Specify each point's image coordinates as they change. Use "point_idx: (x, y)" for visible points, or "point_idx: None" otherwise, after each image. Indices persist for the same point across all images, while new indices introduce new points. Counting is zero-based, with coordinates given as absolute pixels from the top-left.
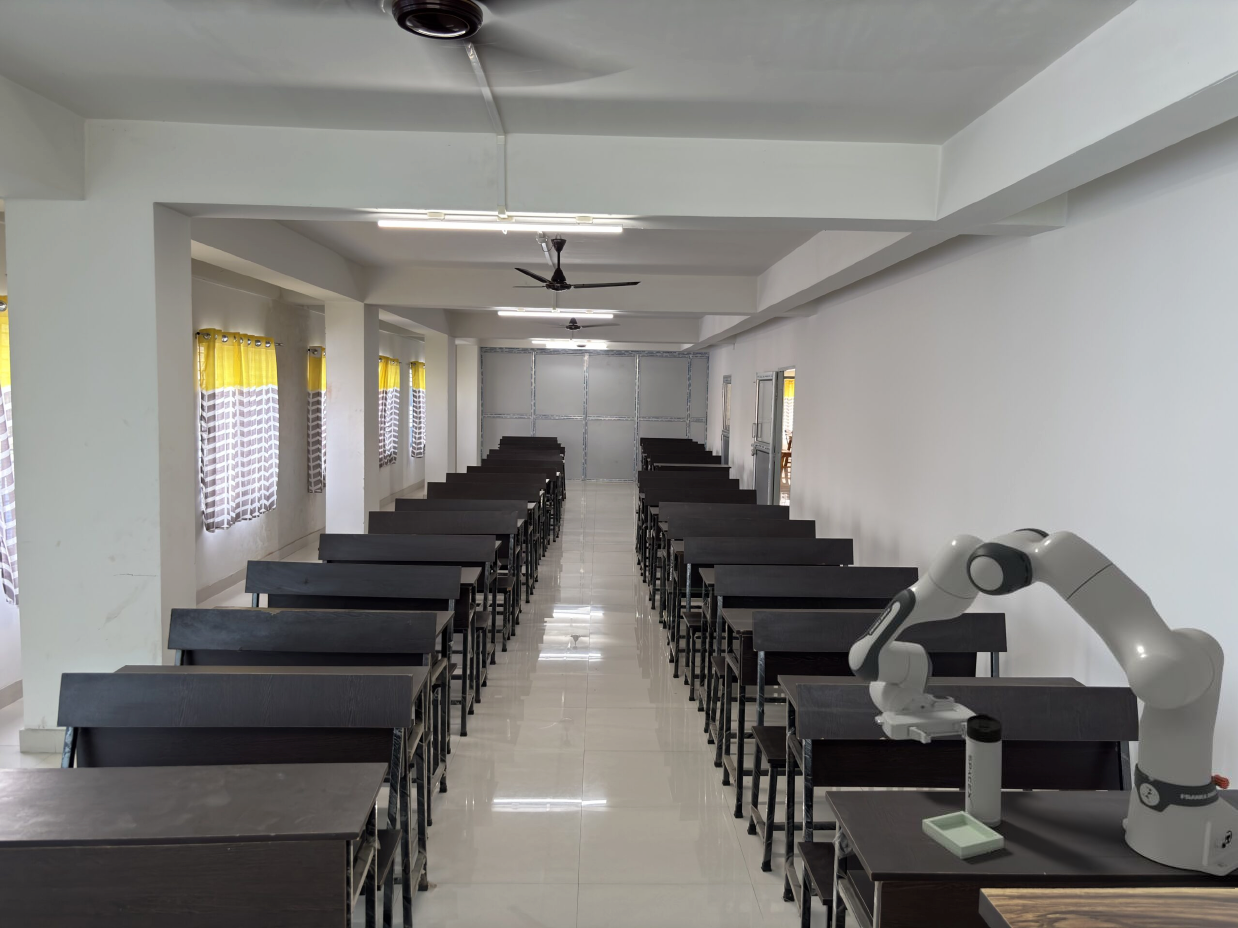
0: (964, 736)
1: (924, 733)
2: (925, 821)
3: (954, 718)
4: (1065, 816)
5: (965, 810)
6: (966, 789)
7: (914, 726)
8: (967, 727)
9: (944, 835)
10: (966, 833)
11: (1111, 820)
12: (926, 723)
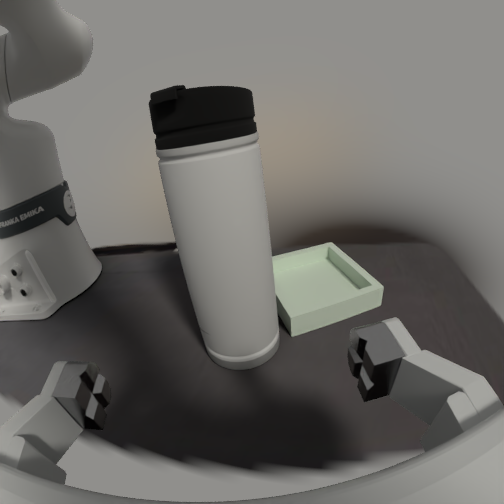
0: (101, 404)
1: (391, 339)
2: (378, 284)
3: (16, 481)
4: (86, 344)
5: (276, 339)
6: (274, 286)
7: (464, 428)
8: (252, 105)
9: (350, 258)
10: (303, 293)
11: (47, 328)
12: (349, 482)
